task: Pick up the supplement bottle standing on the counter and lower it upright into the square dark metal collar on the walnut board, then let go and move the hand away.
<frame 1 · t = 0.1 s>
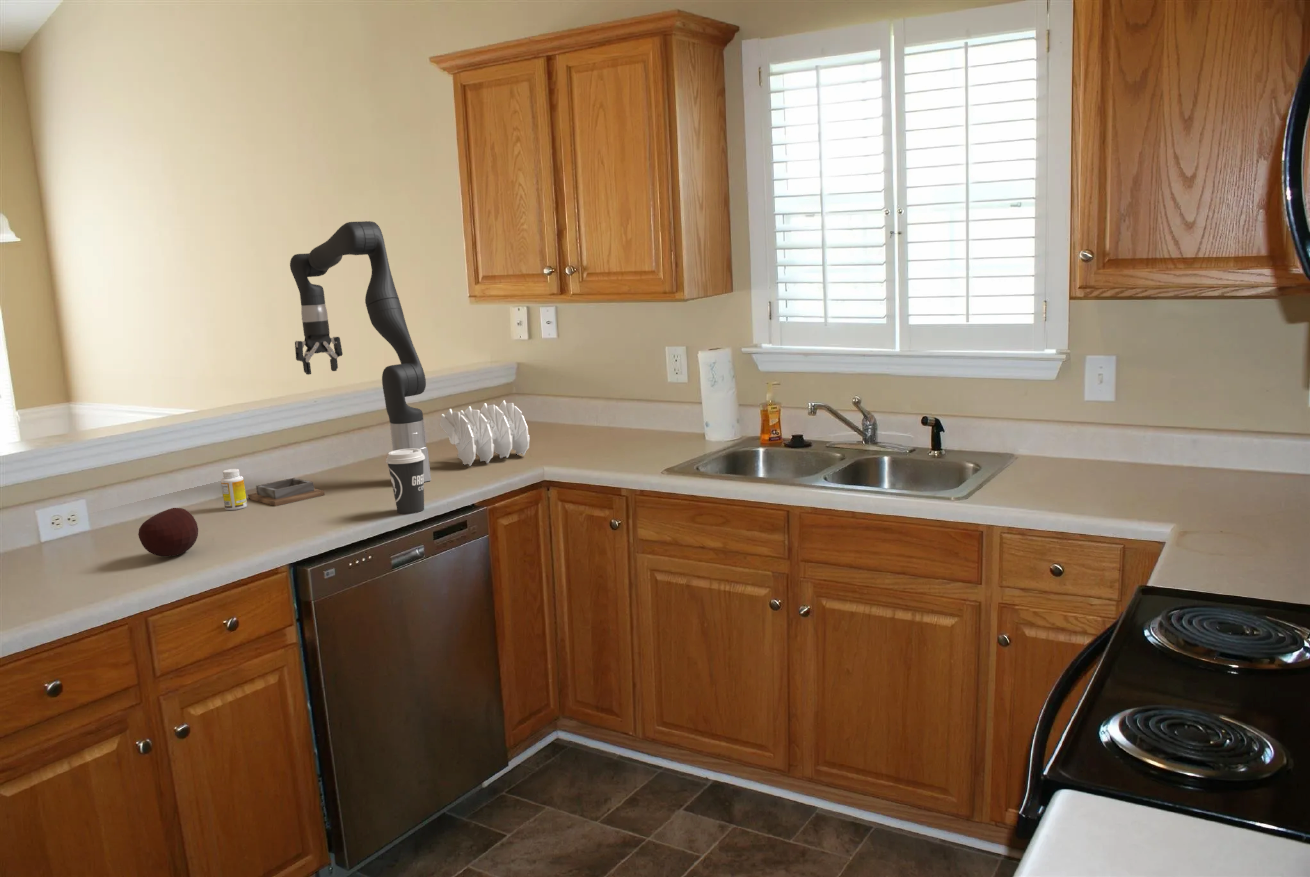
hand: (321, 372, 319), 29 cm above the worktop, tool pointing down, fingers open, 8 cm apart
supplement bottle: (236, 508, 273), on the worktop
holder: (286, 496, 283), on the worktop
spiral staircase: (492, 461, 316), on the worktop
potato: (173, 556, 230), on the worktop
coffee cup: (411, 511, 258), on the worktop
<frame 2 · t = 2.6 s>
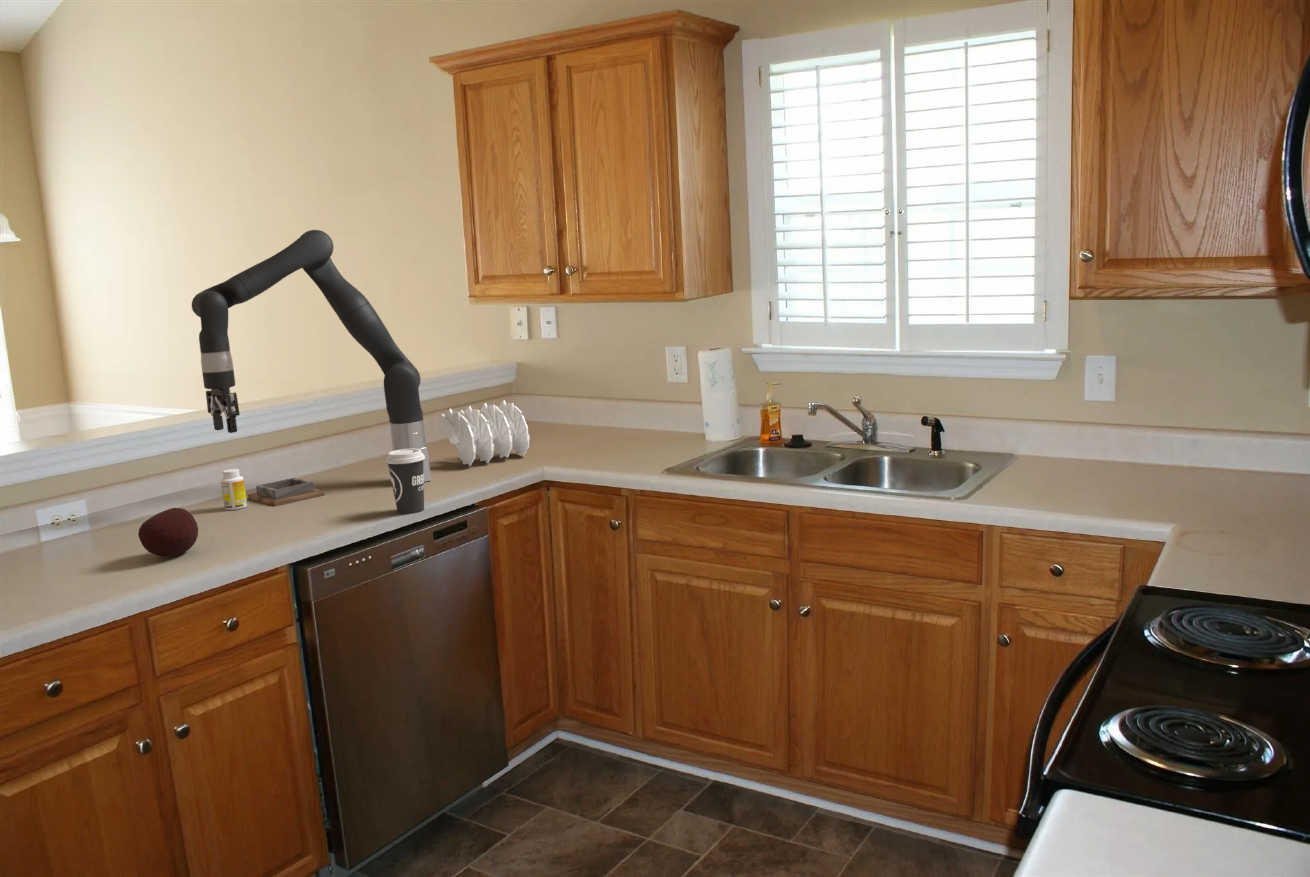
hand: (225, 431, 270), 21 cm above the worktop, tool pointing down, fingers open, 8 cm apart
nothing on the worktop moved.
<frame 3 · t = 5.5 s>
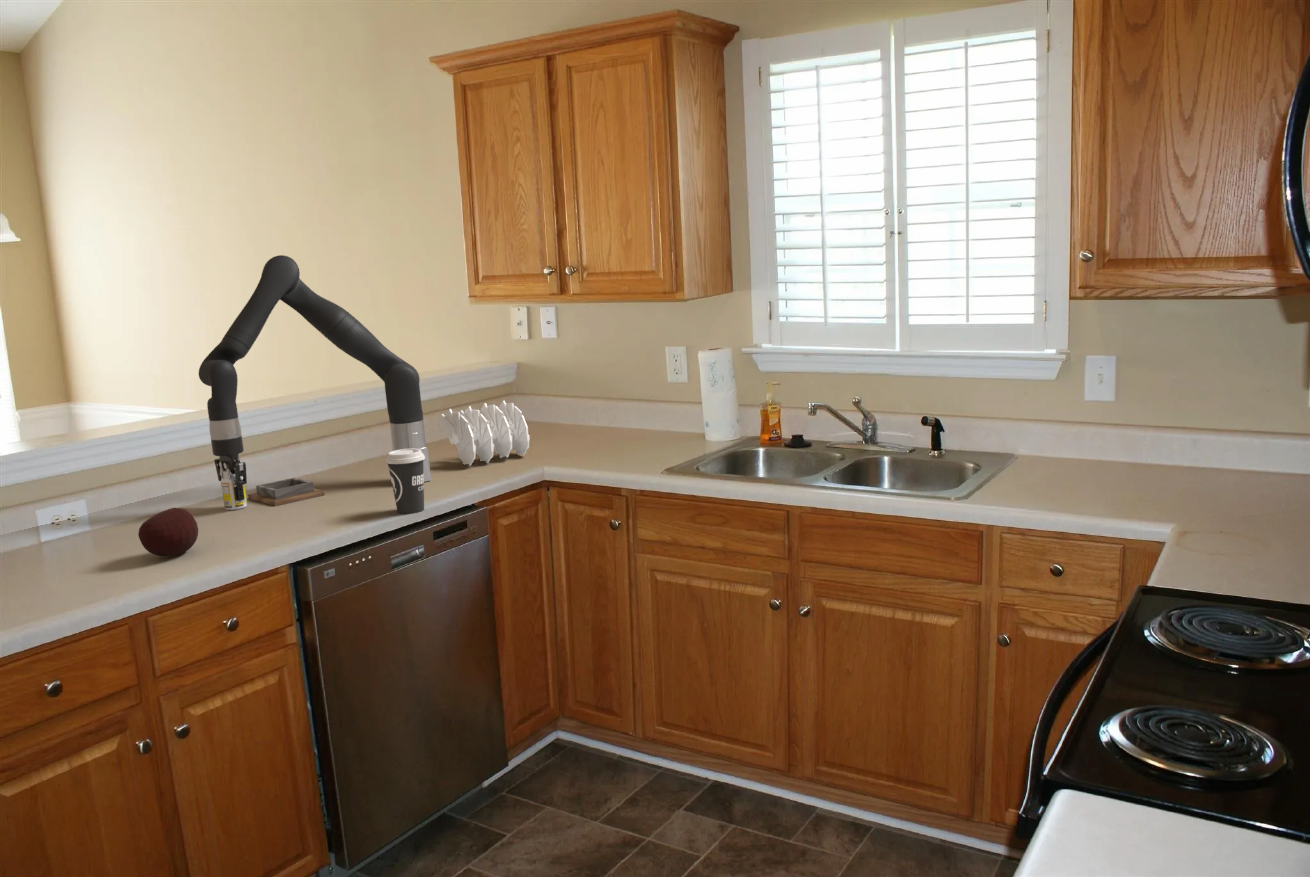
hand: (234, 498, 273), 3 cm above the worktop, tool pointing down, fingers closed on supplement bottle, 5 cm apart
supplement bottle: (236, 508, 273), on the worktop, touching gripper
everything else where it was.
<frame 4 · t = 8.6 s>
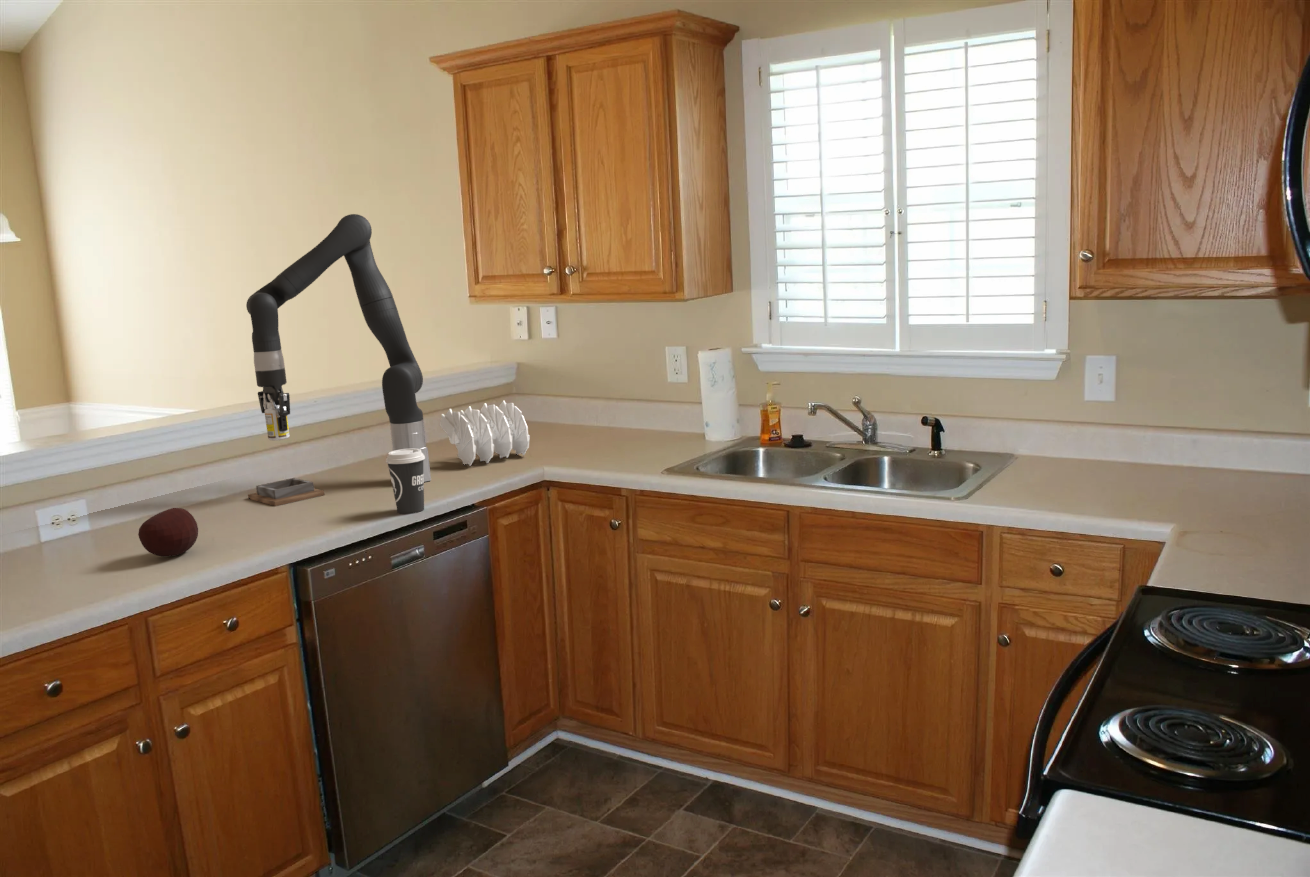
hand: (278, 429, 280), 19 cm above the worktop, tool pointing down, fingers closed on supplement bottle, 5 cm apart
supplement bottle: (279, 439, 280), point 16 cm above the worktop, touching gripper
everything else where it was.
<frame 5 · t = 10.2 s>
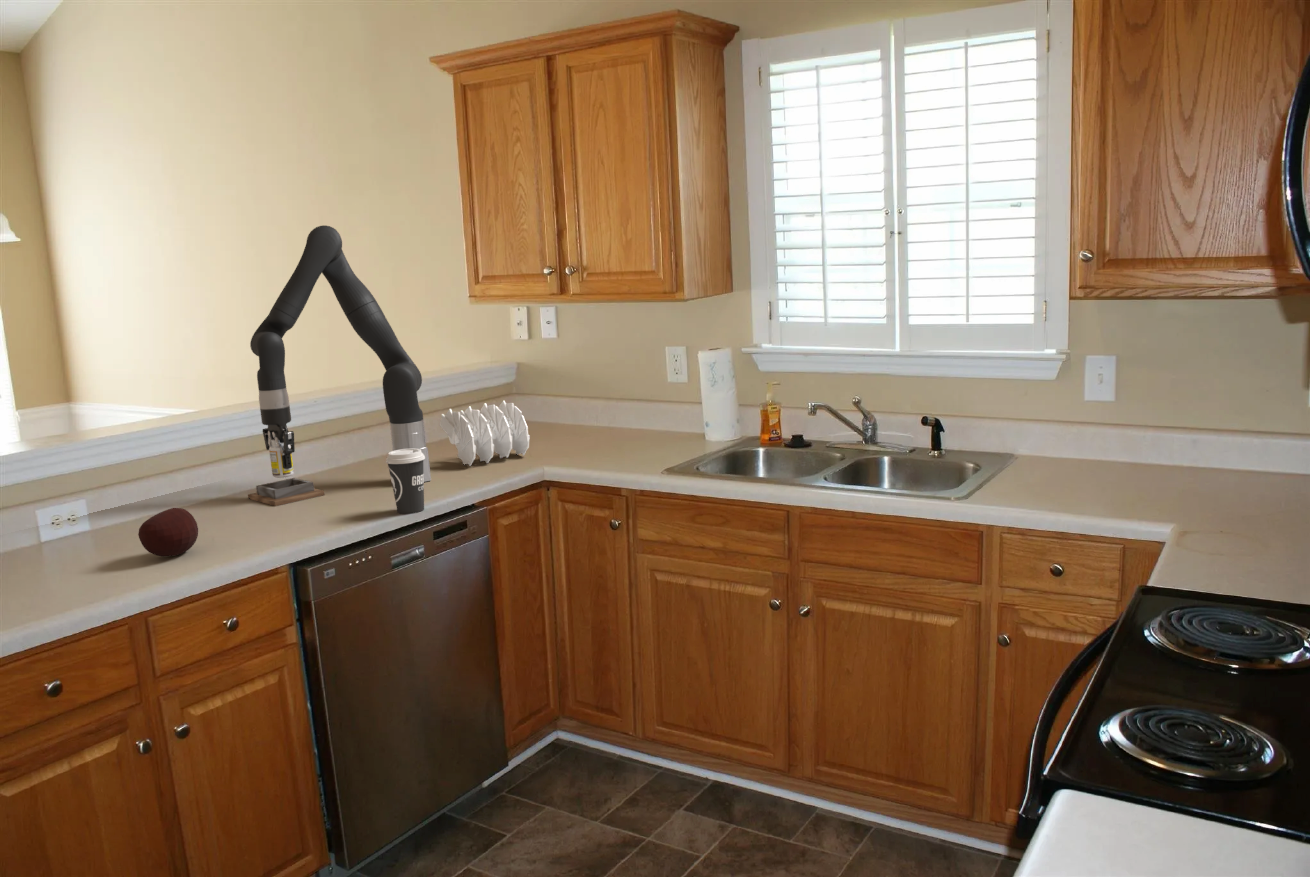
hand: (282, 466, 282), 8 cm above the worktop, tool pointing down, fingers closed on supplement bottle, 5 cm apart
supplement bottle: (283, 476, 282), point 6 cm above the worktop, touching gripper
everything else where it was.
when the fingers open (5 cm above the worktop, at t = 11.9 s): supplement bottle drops 1 cm, resting on holder.
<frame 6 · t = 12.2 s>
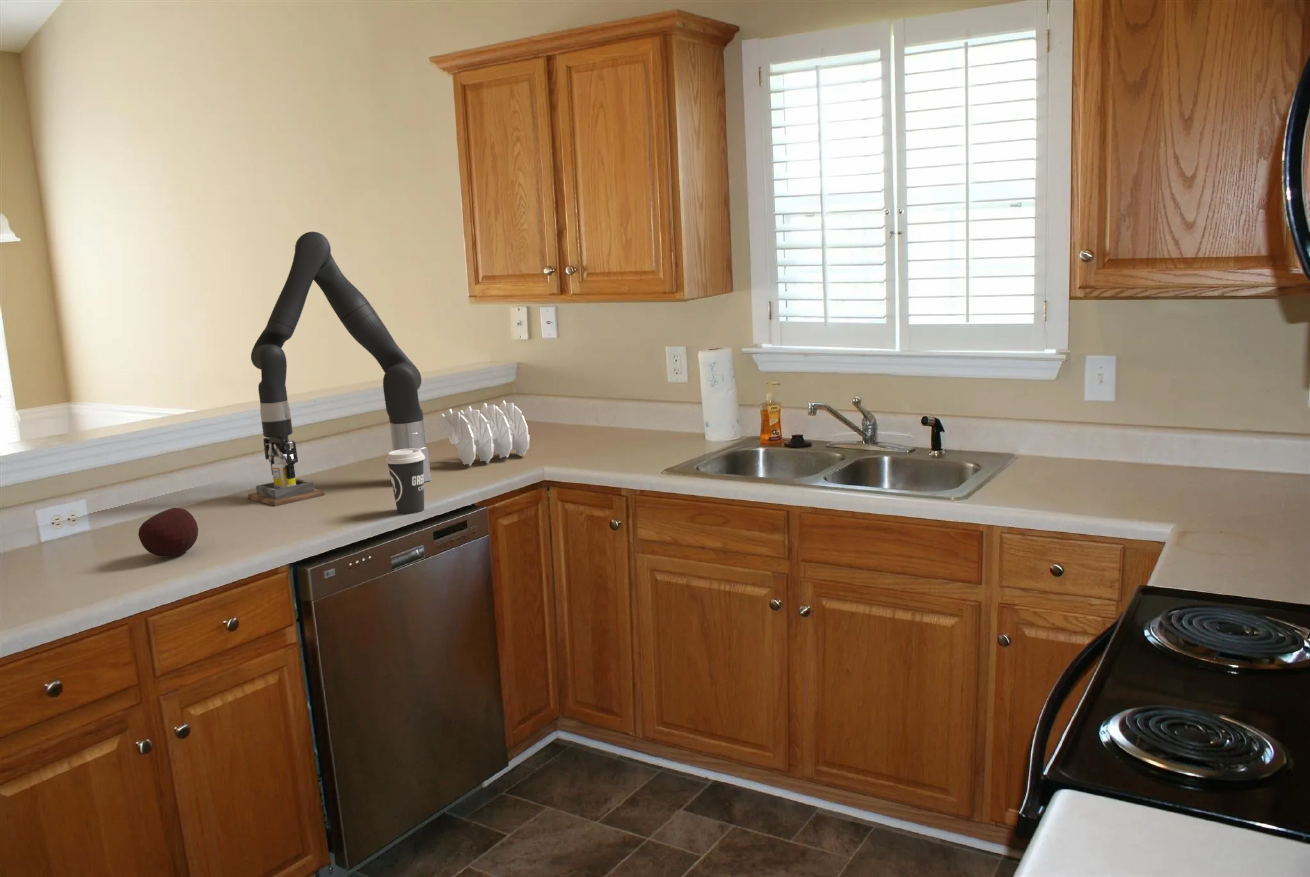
hand: (283, 476, 282), 6 cm above the worktop, tool pointing down, fingers open, 8 cm apart
supplement bottle: (286, 493, 283), point 1 cm above the worktop, touching holder
everything else where it was.
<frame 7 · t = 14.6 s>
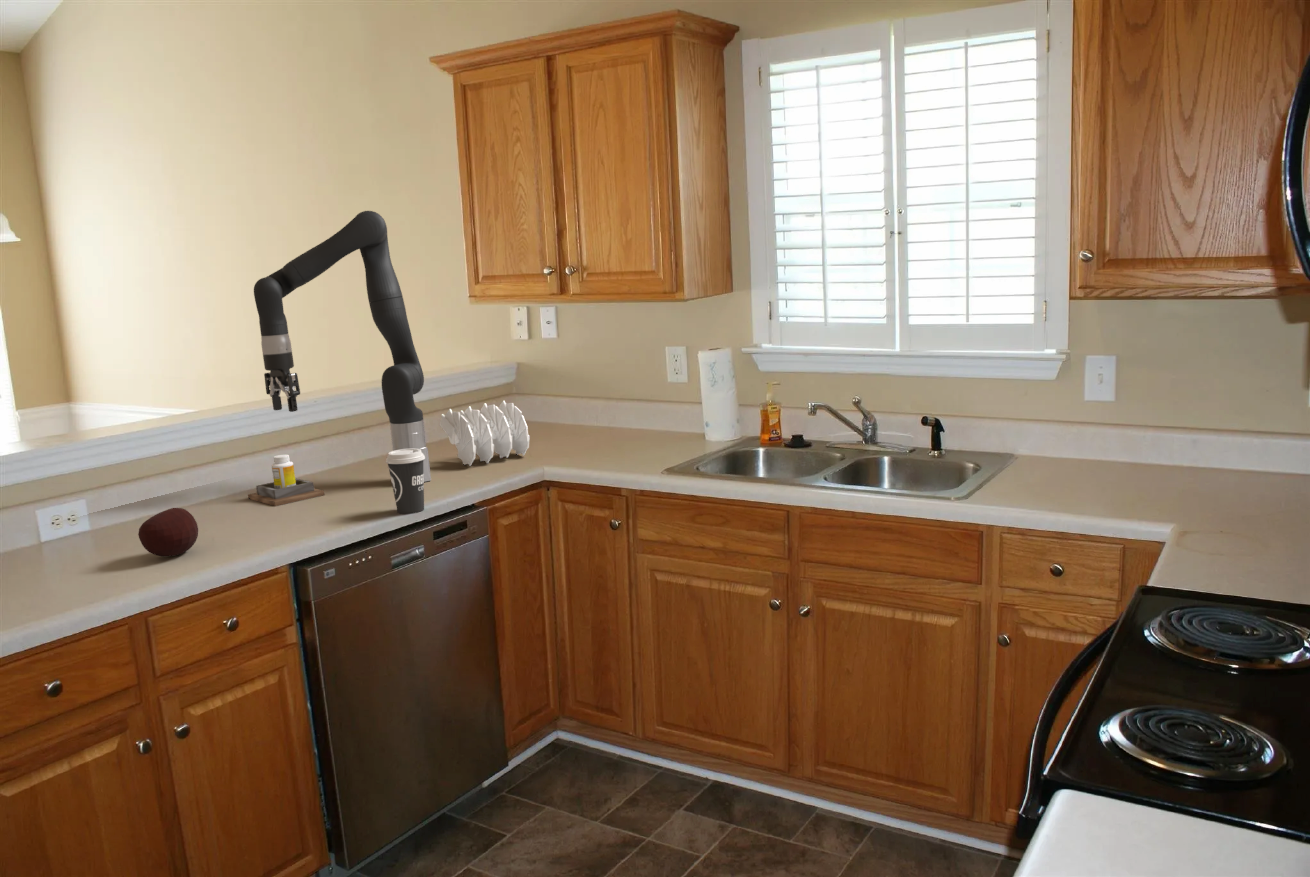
hand: (285, 410, 283), 23 cm above the worktop, tool pointing down, fingers open, 8 cm apart
nothing on the worktop moved.
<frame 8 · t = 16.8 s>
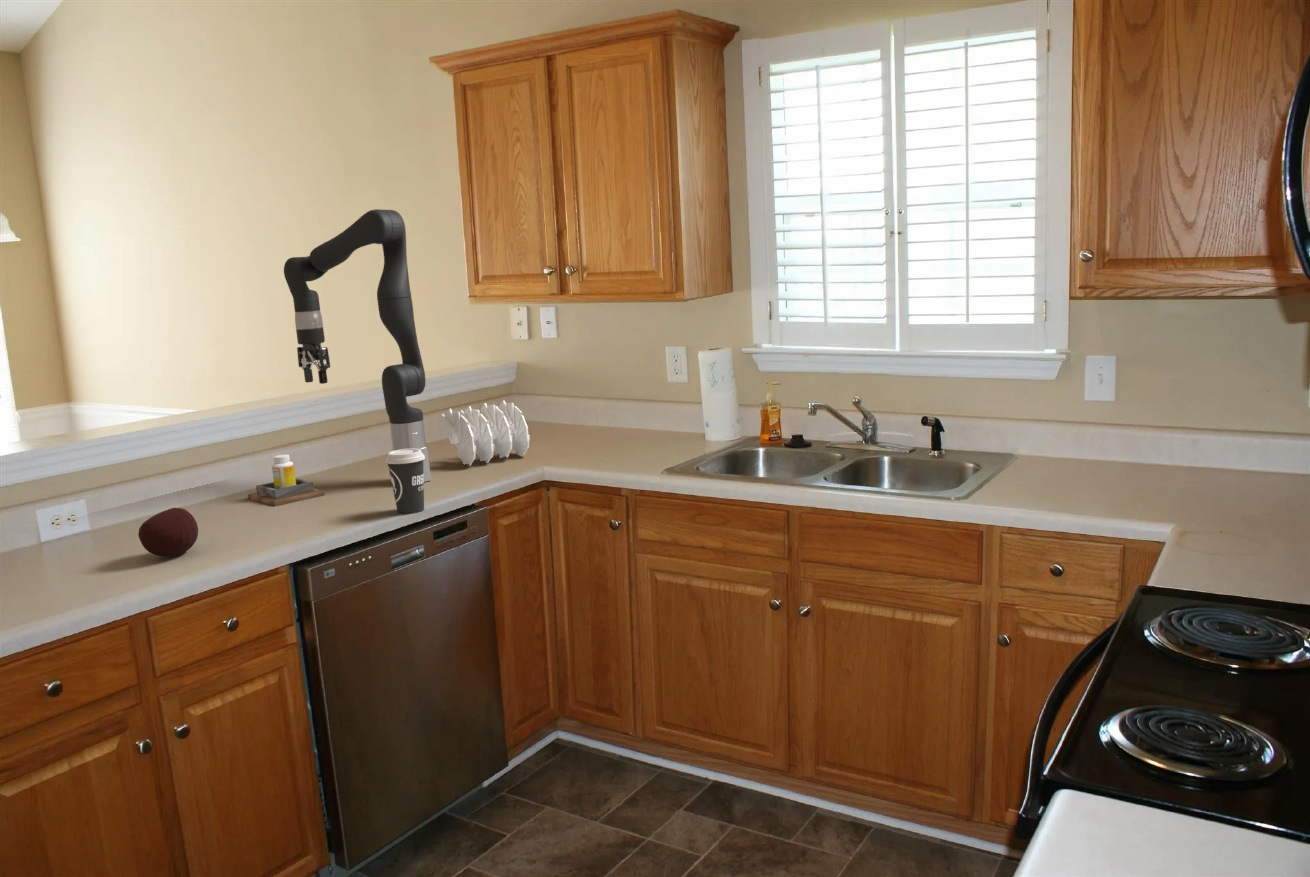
hand: (316, 382, 302), 28 cm above the worktop, tool pointing down, fingers open, 8 cm apart
nothing on the worktop moved.
at the end: supplement bottle 0.2 cm off-centre on the holder, point 1.0 cm above the holder's base; supplement bottle tilted 0°; the gripper is holding nothing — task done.
